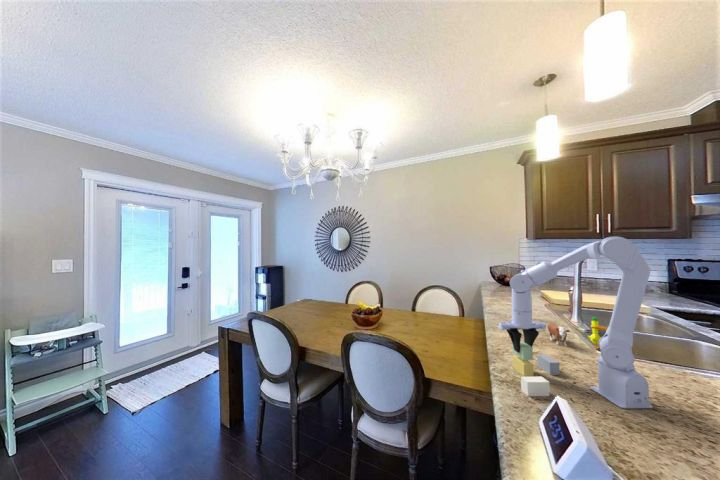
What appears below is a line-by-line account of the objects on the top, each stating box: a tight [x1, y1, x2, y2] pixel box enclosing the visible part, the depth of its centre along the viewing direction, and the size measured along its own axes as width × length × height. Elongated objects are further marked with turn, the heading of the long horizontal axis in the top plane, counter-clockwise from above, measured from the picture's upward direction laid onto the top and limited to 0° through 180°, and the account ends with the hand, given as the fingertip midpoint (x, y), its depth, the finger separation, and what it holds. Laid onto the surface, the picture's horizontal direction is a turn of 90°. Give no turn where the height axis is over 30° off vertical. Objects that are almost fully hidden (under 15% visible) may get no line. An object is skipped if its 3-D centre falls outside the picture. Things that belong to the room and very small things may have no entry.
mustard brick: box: [512, 355, 535, 377], centre depth 85 cm, size 6×3×4 cm, turn 179°
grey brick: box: [536, 354, 560, 376], centre depth 86 cm, size 6×3×4 cm, turn 179°
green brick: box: [511, 340, 534, 361], centre depth 85 cm, size 6×3×4 cm, turn 179°
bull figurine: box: [547, 322, 570, 348], centre depth 108 cm, size 4×13×8 cm, turn 163°
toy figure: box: [587, 316, 608, 349], centre depth 103 cm, size 7×4×12 cm, turn 43°
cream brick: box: [520, 375, 550, 397], centre depth 73 cm, size 6×3×4 cm, turn 89°
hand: (522, 351), depth 85 cm, fingers closed on green brick, 3 cm apart
